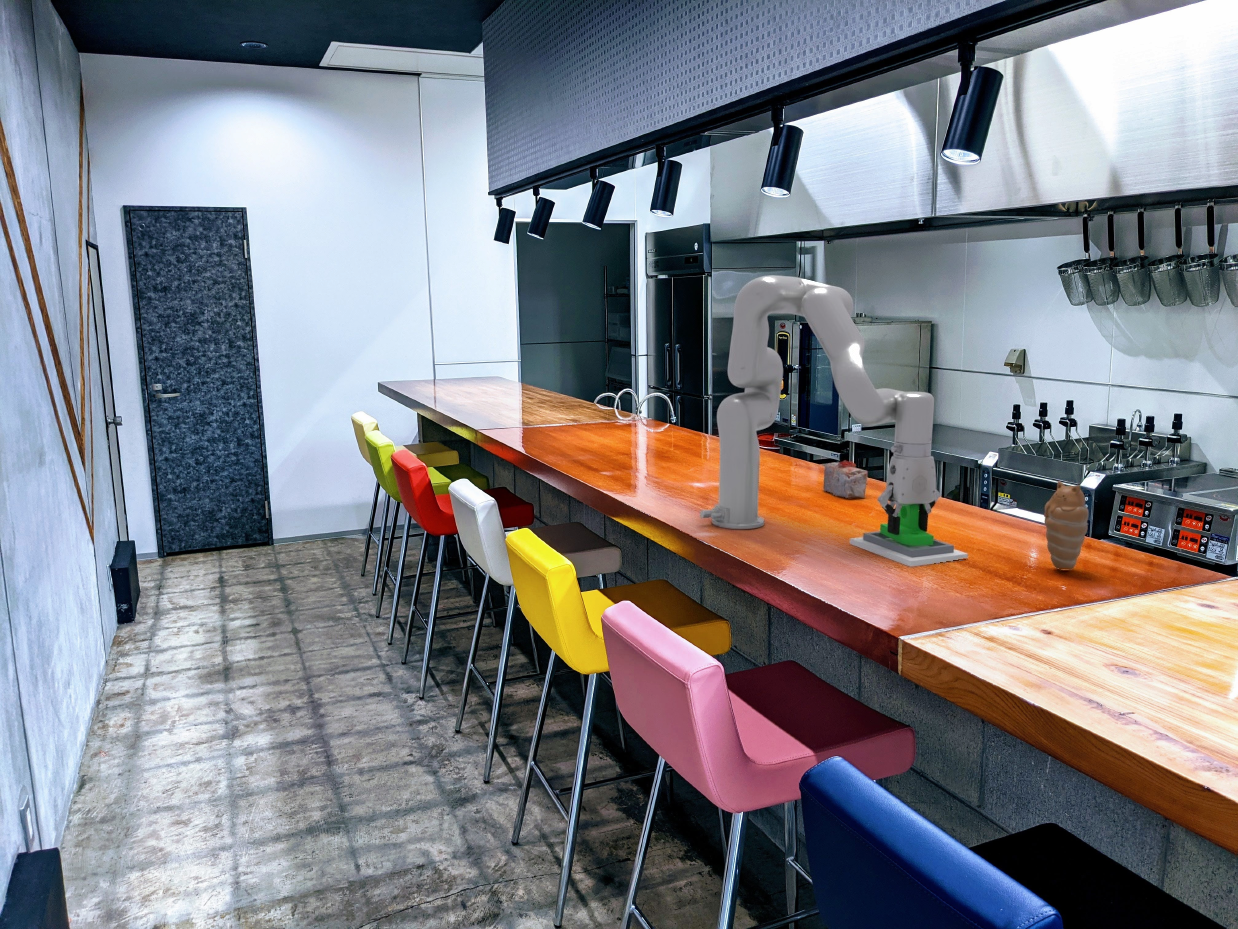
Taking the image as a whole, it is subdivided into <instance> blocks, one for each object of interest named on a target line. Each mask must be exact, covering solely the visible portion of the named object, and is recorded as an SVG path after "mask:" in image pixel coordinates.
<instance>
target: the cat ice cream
mask: <svg viewBox="0 0 1238 929" xmlns="http://www.w3.org/2000/svg"><path fill="white" fill-rule="evenodd" d="M1043 515H1044V525H1045V527H1046V532H1045V537H1046V541H1047V546H1046V547H1047V550H1048V551H1047V552H1049V553H1050V554H1049V555H1050V561H1051V562H1052V565H1053V566H1054V568H1055V567H1056V569H1057V568H1059V569H1071V570H1073V569H1074V568H1075V566H1076V565H1077V561H1078V560H1077V559H1078V558H1079V556H1080V554H1081V551H1082V546H1083V544H1084V541H1085V539H1086V538H1085V535H1086V534H1087V532H1088V529H1089V528H1088V520H1089V509H1088V507H1087V506H1086V497H1085V494H1084V492H1083V491H1082V490H1081V485H1080V484H1078V485H1075V486H1071V485H1065V484H1064V483H1062V481H1060V480H1058V481H1057V484H1056V491H1055V492H1054V493H1053V494H1052V496H1050V499H1049V500H1047V502H1046V503H1045V505H1044V514H1043Z"/></svg>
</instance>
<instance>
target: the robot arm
mask: <svg viewBox="0 0 1238 929" xmlns="http://www.w3.org/2000/svg"><path fill="white" fill-rule="evenodd" d="M853 311H854V300H853V298H852V295H851V294H850V293H849V292H848V291H847V290H846V289H844V288H842V287H839V286H834V285H830V284H827V283H823V282H817V281H813V280H809V279H805V278H801V277H798V276H787V275H786V276H785V275H773V274H771V275H763V276H759V277H756V278H753V279H752V280H750V281H748V282H747V283H746V284H744V285H743V286H742V288H741V289H740V290H739V292H738V294H737V296H736V299H735V301H734V308H733V322H732V333H731V338H730V345H729V356H728V364H727V376H728V377H727V378H728V380H729V381H730V383H731V384H732V385H733V386H735V387H737V388H741V389H744V392H738V393H734V394H731V395H729V396H727V397H725V398H723V400H722V401H721V403H720V404H719V406H718V408H717V412H716V423H717V424H716V425H717V429H718V435H719V436H718V438H719V439H718V440H719V473H718V474H719V479H718V483H719V484H718V504H714V507H713V508H712V509H702V510H700V511H699V514H700V518H701V519H708V518H710V519H711V524H713V525H714V526H716V527H719V528H724V529H730V530H751V529H757V528H761V527H763V526H764V525H765V519H764V518H763V517H761V516H759V490H760V487H759V485H760V462H761V461H760V459H761V457H760V456H761V455H760V454H761V451H760V444H759V443H760V442H759V438H758V435H757V432H758V431H761V430H764V429H766V428H769V427H770V426H772V424H774V422H775V420H776V418H777V415H778V413H779V407H780V401H781V400H780V399H781V393H782V392H781V391H782V384H783V376H784V368H783V361H782V359H781V356H780V355H779V353H778V352H777V351H776V350H775V349H773V348H771V347H768V341H769V336H770V327H769V326H770V325H769V321H768V316H769V315H771V314H792V315H797V316H800V317H803V318H805V320H806V322H807V323H808V326H809V327H810V329H811V331H812V332H813V334H814V335H815V337H816V338H817V339H816V340H817V341H818V343H819V344H820V346H821V347H822V349H823V351H824V353H825V355H826V356H827V358H828V360H829V363H830V370H831V375H832V379H833V383H834V387H835V389H836V391H837V394H838V395H839V397H840V399H841V401H842V402H843V404H844V406H845V408H846V409H847V411H848V412H849V414H850V415H851V417H852V418H853V419H854V420H855V421H856V422H857V423H858V424H861V425H863V426H865V427H874V426H875V427H876V426H879V425H883V424H887V423H895V425H894V426H895V427H894V444H893V445H892V446H891V447H890V451H891V453H893V456H891V458H890V462H889V465H888V466H889V467H888V471H887V477H886V485H885V486H886V487H885V490H884V491H883V492H882V493H881V494H880V495H879V496H878V497H877V502H878V503H879V504H880V506H881V508H882V509H883V511H884V512H885V514H886V515H887V523H888V526H887V527H888V529H887V531H888V532H889V533H891V534H894V535H899V533H900V517H899V516H898V514H899V512H900V510H901V508H902V505H914V504H917V505H918V509H919V519H918V526H919V528H920V530H923V531H925V532H927V531H928V525H929V515H930V514H931V513H932V509H933V508H934V507H935V505H936V502H937V501H938V500H939V498H941V493H940V491H939V490H938V489H937V474H936V463H935V459H934V458H935V457H934V456H932V454H931V453H932V442H933V441H932V439H933V425H934V411H935V410H934V409H935V398H934V396H933V395H932V394H931V393H929V392H924V391H902V390H898V389H893V388H888V387H886V388H878V389H877V388H875V386H874V384H873V383H872V381H871V379H870V377H869V375H868V374H867V372H866V369H865V366H864V362H863V355H864V351H865V347H866V341H865V339H864V337H863V335H862V334H861V332H860V330H859V329H858V328H857V325H856V324H855V322H854V320H853V319H852V317H851V316H852V315H853ZM927 533H928V532H927Z"/></svg>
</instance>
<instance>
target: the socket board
mask: <svg viewBox="0 0 1238 929" xmlns="http://www.w3.org/2000/svg"><path fill="white" fill-rule="evenodd" d="M849 544H850V545H852V546H854V547H858V548H860V549H863V550H866V551H867V552H870V553H873V554H876V555H878V556H881V557H883V558H885V559H889V560H891V561H894V562H897V563H899V564H902V565H905V566H907V567H910V568H912V567H919V566H920V567H921V566H925V565H926V566H928V565H933V564H934V563H936V564H941V563H940V562H943V563H947V562H946V561H951V562H954V561H953V560H958V559H963V558H968V557H969V554H968V553H966V552H963V551H961V550H959V549H958V550H957V549H955V545H954V544H952V543H951V544H950V543H948V542H944V541H941V540H938V539H935V538H934V541H933V545H923V546H912V545H905V544H902V543H899V542H897V541H895V540H894V539H892V538H890V537H888V536H886V535H884V534H882V533H880V530H876V531H872V532H864V533H863V535H862V536H861V537H854V538H853V537H851V538H849Z"/></svg>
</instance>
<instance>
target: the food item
mask: <svg viewBox="0 0 1238 929" xmlns="http://www.w3.org/2000/svg"><path fill="white" fill-rule="evenodd" d="M856 466H857V465H856V463H854V461H851V460H850V461H848V460H846V459H844V460H843V461H840V462H839V461H837V462H829V463H826V464H825V465H824V470H823V471H824V473H823V486H822V487H823V488H822V489H823V491H824V492H826V491H827V493H829V492H830V494H832V493H833V494H832V495H833V496H834V495H835V497H841V498H844V497H845V498H844V499H847V498H849V499H848V500H852V499H851V498H859V499H865V498H866V490H867V485H868V483H867V482H868V470H864V469H862V468H857V467H856Z"/></svg>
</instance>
